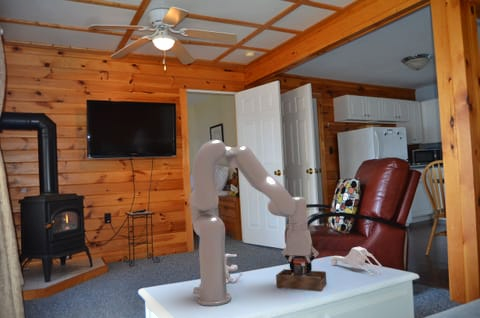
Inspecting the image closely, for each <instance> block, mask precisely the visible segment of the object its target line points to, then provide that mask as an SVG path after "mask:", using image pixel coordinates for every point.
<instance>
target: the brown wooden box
mask: <svg viewBox="0 0 480 318" xmlns="http://www.w3.org/2000/svg"><path fill="white" fill-rule="evenodd" d="M292 273H294V271H293V272H291V269H290V268H289V269H287V268H286V269H285V268H284V269H282V270H281V271H279V272H278V273H276V275H275V281H276V289H287V290H288V289H290V290H301V291H302V290H303V291H315V292H322V291H323V290H324V289H325V286H326V285H327V272H326V271H324V270H323V271H321V270H311V272H310V273H308V275H309V276H293V275H291V274H292Z"/></svg>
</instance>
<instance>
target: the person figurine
mask: <svg viewBox="0 0 480 318" xmlns="http://www.w3.org/2000/svg"><path fill="white" fill-rule="evenodd" d="M233 257H234V258H237V253H235V254H231V253H225V266H226V285H227V284H228V283H232V284H236V283H237V282H238V280H239V279H240V277H241V276H243V272H239V273H238V276H237V277H235V278H233V277H231V274H230V273H229V272H230V271H231V272H235V271H237V270H238V269H239V267H238V265H237V264H231V265H230V266H229V265H228V264H227V263H228V262H227V260H228V258H233ZM235 282H236V283H235ZM197 287H199V288H201V282H200V283H199V284H198V286H197Z"/></svg>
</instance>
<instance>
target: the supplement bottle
mask: <svg viewBox="0 0 480 318" xmlns="http://www.w3.org/2000/svg"><path fill="white" fill-rule="evenodd" d="M293 269H294V276H309V275H308V273H307V259H306V257H305V256H294V258H293Z"/></svg>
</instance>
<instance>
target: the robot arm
mask: <svg viewBox="0 0 480 318" xmlns="http://www.w3.org/2000/svg"><path fill="white" fill-rule="evenodd" d="M192 164H193V165H192V183H193V189H192V191H191V193H190V196H189V207H190V208H189V209H190V213H191V214H190V215H191V223H192V226H193V230H194V232H195V234H196V235H197V236H198V237H199V243H198V244H199V245H198V246H199V248H198V254H199V255H198V257H199V273H200V283H201V288H199V287H198V286H194V287H193V291H192V294H193V295H198V297H197V299H196V300H197V303H198V304H199V305H201V306H210V307H212V306H214V307H215V306H221V305H224V304H227V303H229V302H230V301H232V295H231V294H230V293H228V289H227V284H226V266H225V254H226V253H225V251H226V250H225V249H226V248H225V246H226V245H225V242H226V239H225V238H226V227H225V223H224V222H223V220H222V218H220V217H219V216H217V215H216V213H215V209H216V208H217V207H218V206H219V201H220V200H219V193H218V187H217V180H216V179H217V178H216V168H217V166H219V167H226V168H232V169H233V168H237V170H239V172H240V173H241V174H242V175H243V177H244V178H245V180H246V181H247V182H248V183H249V185H250V186H251V187H252V188H253V189H255V191H256V190H257V191H258V192H261V194H263V195H265V196H266V197H267V198H268V199H269V202H268V204H267V210H268V212H269V213H270V214H272V215H273V216H277V217H284V218H288V223H286V224H285V227H286V228H288V230H287V231H286V240H285V248H283V249H282V251H281V252H280V253H281V254H282V255H283V257H285V259H286V260H287V261H288V263H289V269H290V270H291V272H293V271H294V269H293V258H294V257H295V256H305V257H306V259H307V273H310V272H311V271H313V269H312V268H313V267H312V262H313V260H315V259H316V258H317V256H318V255H319V254H320V253H319V251H318V250H317V249H315V247H314V246H313V242H312V236H311V231H310V229H308V225H309V224H308V213H307V212H308V210H307V199H306V198H305V197H304V196H291V194H290V193H289V191H288V190H287V189H286V188H285V186H283V184H281V183H280V182H279V181H278V180H277V179H276V178H275V177H273V176H272V175H271V174H270V173H269V172H268V171H267V170H266V168H265V167H264V166H263V165H262V163H261V161H260V160H259V158H258V157H257V156H256V155H255V153H254V152H253V150H251V149H250V148H249V147H248V146H247V145H238V146H235V147H233V146H226V145H225V143H224V142H223V141H222V140H220V139H211V140H209V141H207V142H205V143H203V144H202V145H201V146H200V148H199V151H198V152H197V154H196V155H195V158H194V161H193V162H192ZM312 254H313V255H312Z"/></svg>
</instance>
